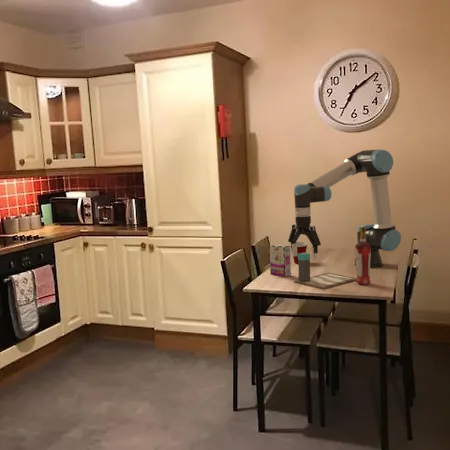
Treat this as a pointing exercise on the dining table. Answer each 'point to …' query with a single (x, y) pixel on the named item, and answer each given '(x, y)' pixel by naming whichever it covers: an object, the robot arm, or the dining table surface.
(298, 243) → the plastic cup
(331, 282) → the striped kitchen towel
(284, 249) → the candy bar box
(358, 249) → the liquor
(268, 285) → the dining table surface
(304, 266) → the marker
